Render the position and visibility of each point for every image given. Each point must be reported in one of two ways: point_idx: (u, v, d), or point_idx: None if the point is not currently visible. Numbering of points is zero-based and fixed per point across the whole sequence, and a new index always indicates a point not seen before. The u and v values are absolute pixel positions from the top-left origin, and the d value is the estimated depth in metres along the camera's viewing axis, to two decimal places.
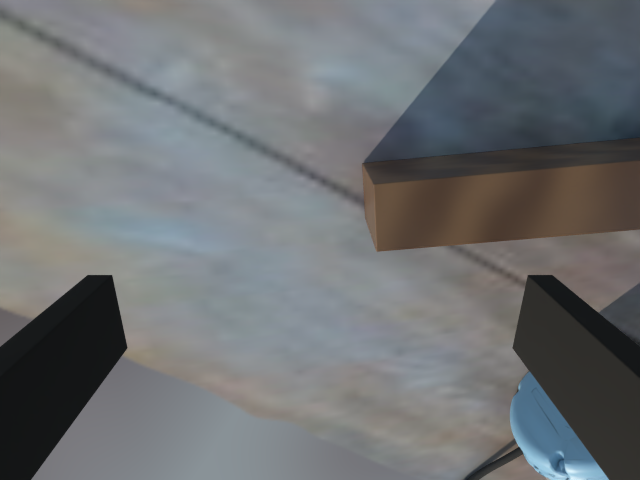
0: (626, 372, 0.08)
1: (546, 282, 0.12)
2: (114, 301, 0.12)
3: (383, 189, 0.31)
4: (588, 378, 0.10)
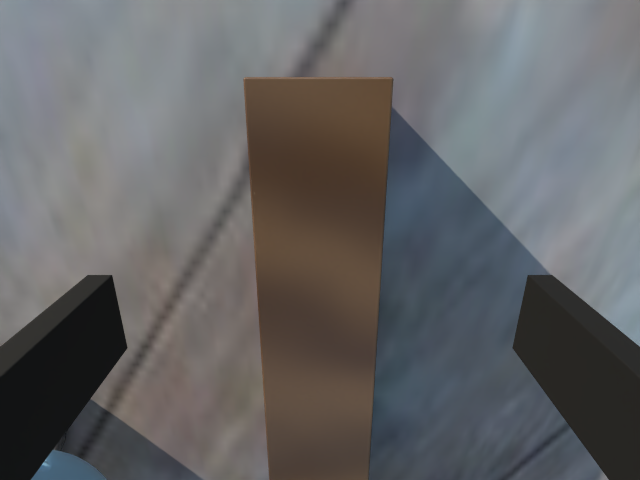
0: (626, 372, 0.08)
1: (546, 282, 0.12)
2: (115, 301, 0.12)
3: (380, 98, 0.15)
4: (588, 378, 0.10)
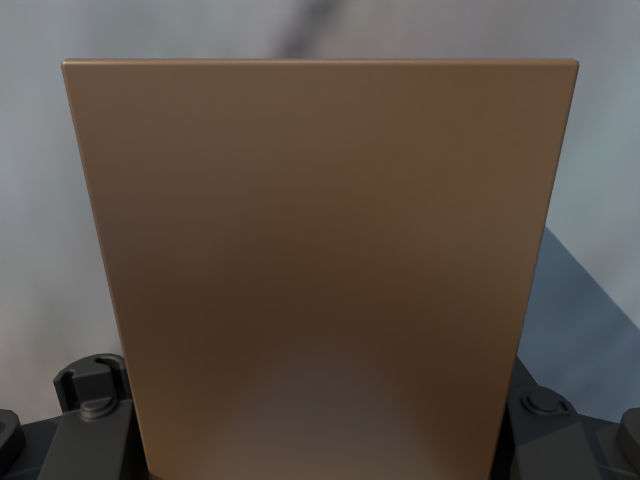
0: None
1: None
2: None
3: (526, 129, 0.05)
4: None
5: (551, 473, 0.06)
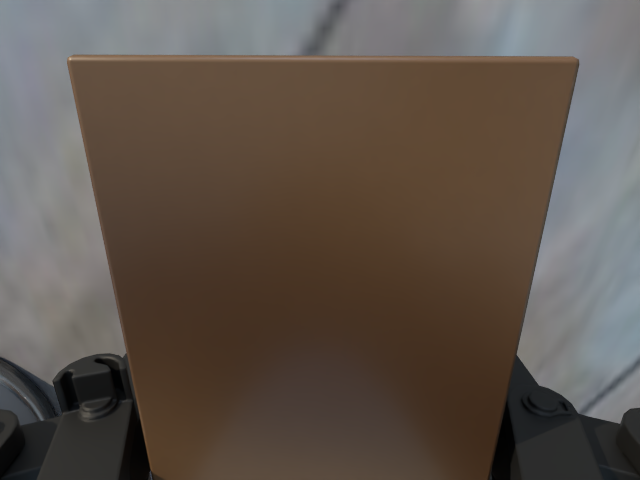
0: None
1: None
2: None
3: (527, 126, 0.05)
4: None
5: (551, 473, 0.06)
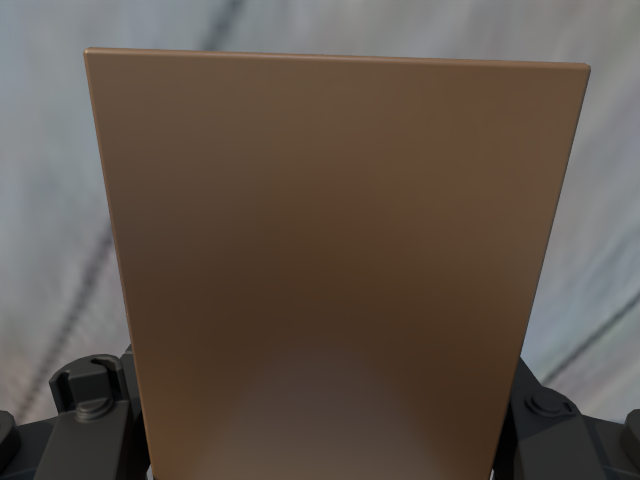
0: None
1: None
2: None
3: (538, 130, 0.05)
4: None
5: (555, 474, 0.06)
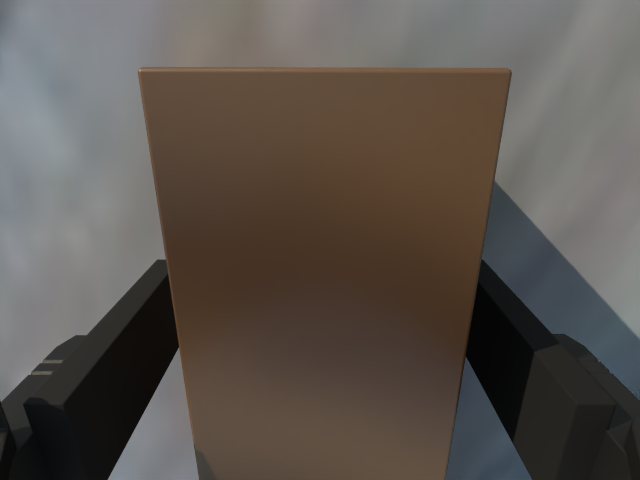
0: (519, 339, 0.09)
1: None
2: None
3: (475, 120, 0.06)
4: (497, 348, 0.11)
5: None
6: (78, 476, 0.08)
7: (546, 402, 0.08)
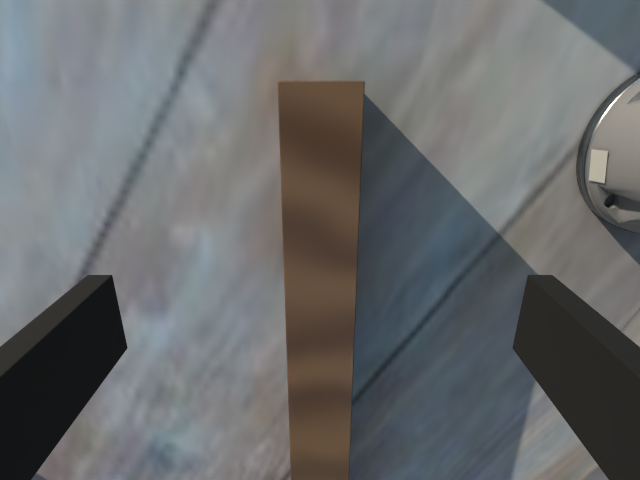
0: (626, 372, 0.08)
1: (546, 282, 0.12)
2: (114, 301, 0.12)
3: (356, 93, 0.26)
4: (588, 378, 0.10)
5: None
6: None
7: None
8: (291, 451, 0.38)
